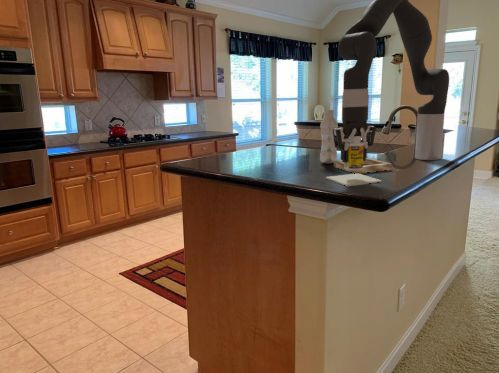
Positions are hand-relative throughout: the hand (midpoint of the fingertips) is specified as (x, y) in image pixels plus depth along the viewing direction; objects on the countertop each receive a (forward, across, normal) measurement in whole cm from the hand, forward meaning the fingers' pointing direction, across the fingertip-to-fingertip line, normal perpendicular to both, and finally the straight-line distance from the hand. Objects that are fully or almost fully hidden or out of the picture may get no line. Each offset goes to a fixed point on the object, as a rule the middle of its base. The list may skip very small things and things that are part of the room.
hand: (353, 161), depth 118 cm
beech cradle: (+6, -13, -14) cm, 20 cm away
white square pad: (+6, 0, 0) cm, 6 cm away
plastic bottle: (+6, -8, -28) cm, 30 cm away
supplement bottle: (+3, 0, 0) cm, 3 cm away
